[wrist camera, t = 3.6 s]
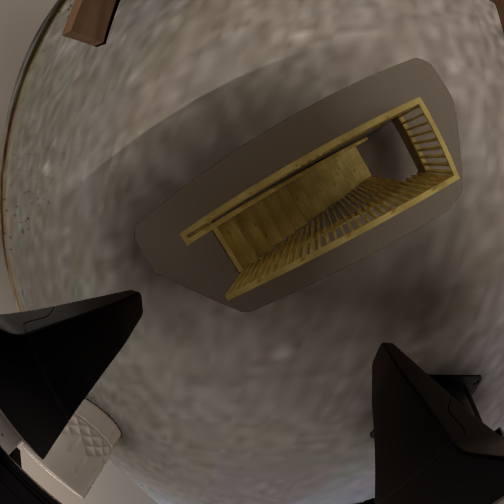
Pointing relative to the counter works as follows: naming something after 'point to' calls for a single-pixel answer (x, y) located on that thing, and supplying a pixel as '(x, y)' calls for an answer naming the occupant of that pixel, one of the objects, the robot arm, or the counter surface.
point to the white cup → (81, 449)
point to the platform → (309, 193)
